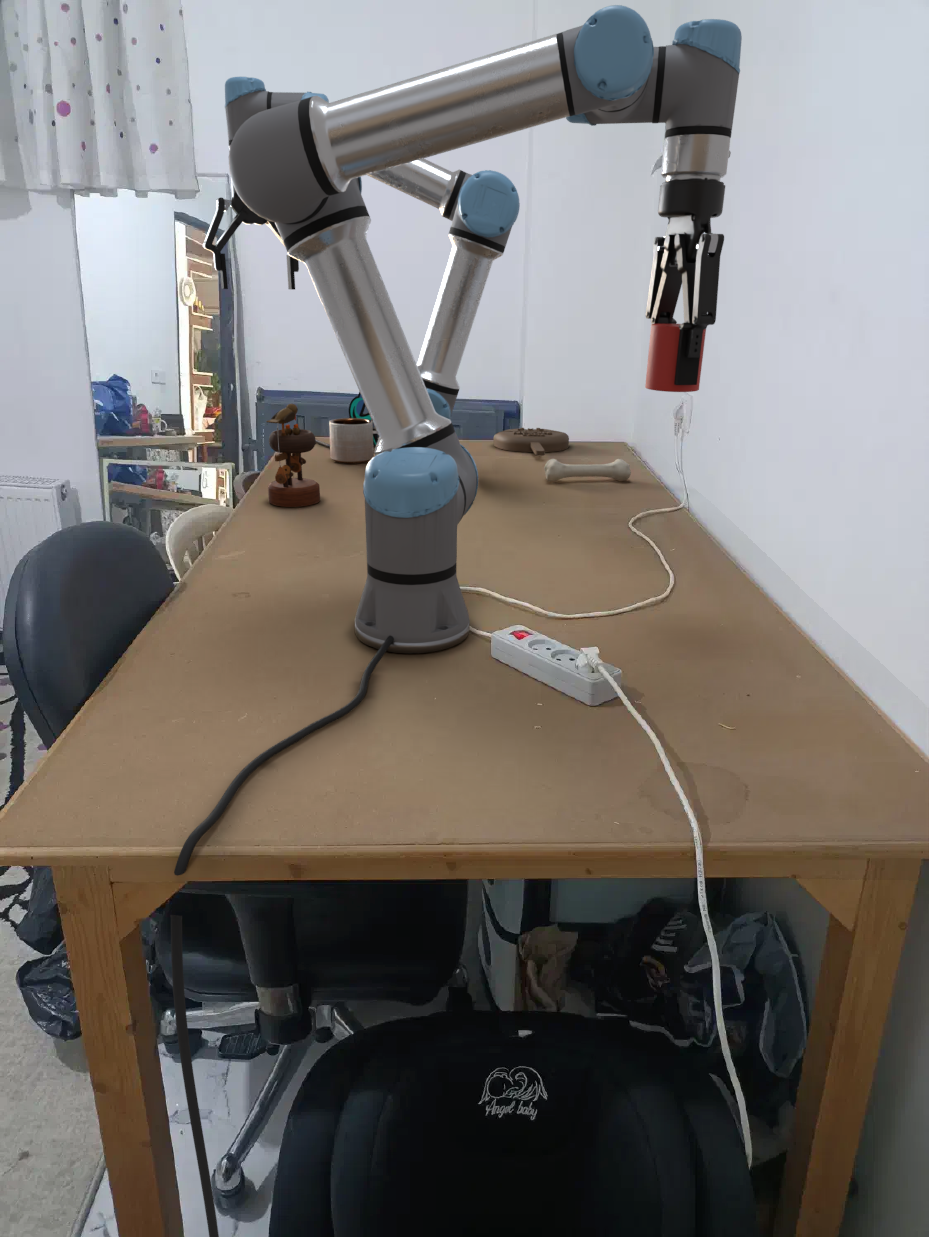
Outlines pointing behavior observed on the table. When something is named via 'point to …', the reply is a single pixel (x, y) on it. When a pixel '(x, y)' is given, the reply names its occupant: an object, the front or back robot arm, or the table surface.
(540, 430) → the ice cream bar
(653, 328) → the canister
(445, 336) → the back robot arm
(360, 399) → the decorative sign
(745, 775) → the table surface
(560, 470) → the dog toy
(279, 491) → the music box
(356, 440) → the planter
